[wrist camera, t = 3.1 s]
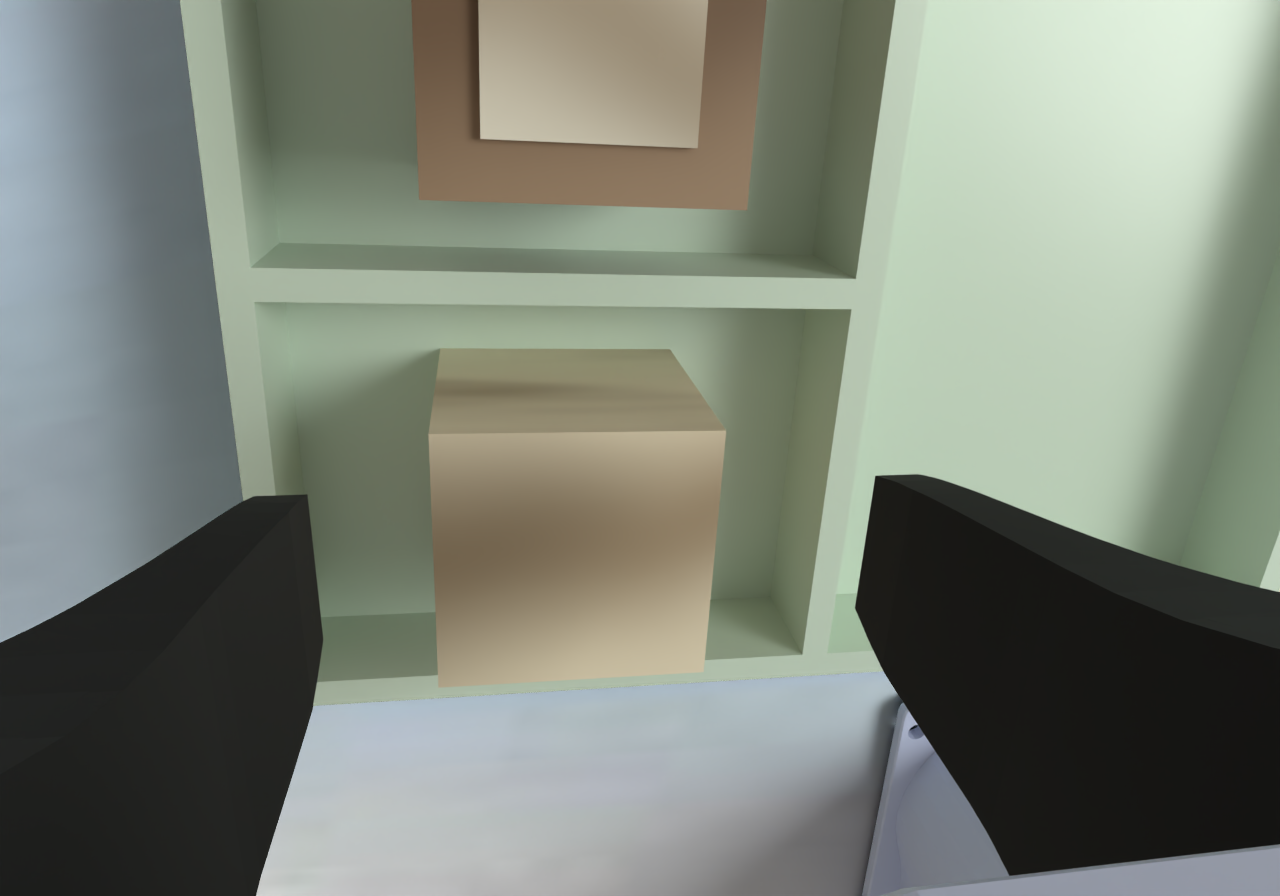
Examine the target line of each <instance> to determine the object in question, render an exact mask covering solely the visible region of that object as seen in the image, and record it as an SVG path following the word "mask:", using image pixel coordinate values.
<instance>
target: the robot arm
mask: <svg viewBox="0 0 1280 896" xmlns="http://www.w3.org/2000/svg"><path fill="white" fill-rule="evenodd" d="M855 610H856V612H857V614H858V617H859V619H860V621H861V624H862V626H863V628H864V631H865V633H866V636H867V638H868V640H869V642H870V645H871V647H872V649H873V651H874V653H875V655H876V657H877V659H878V661H879V663H880V666H881V668H882V669H883V671H884V673H885V674H886V676H887V678H888V679H889V681H890V682H891V684H892V686H893V687H894V689H895V690H896V692H897V693H898V695H899V697H900V698H901V700H902V701H903V703H902V704H901V705H900V707H899V710H898V714H897V719H896V724H895V729H894V734H893V739H892V744H891V749H890V755H889V760H888V765H887V770H886V775H885V780H884V785H883V790H882V795H881V801H880V806H879V811H878V816H877V821H876V826H875V831H874V836H873V841H872V847H871V852H870V857H869V862H868V867H867V872H866V877H865V882H864V887H863V893H862V896H1280V592H1277V591H1272V590H1268V589H1264V588H1260V587H1256V586H1252V585H1248V584H1244V583H1240V582H1236V581H1232V580H1229V579H1225V578H1221V577H1218V576H1214V575H1211V574H1207V573H1204V572H1200V571H1196V570H1193V569H1189V568H1186V567H1182V566H1178V565H1175V564H1172V563H1169V562H1166V561H1162V560H1159V559H1156V558H1153V557H1150V556H1147V555H1144V554H1141V553H1138V552H1135V551H1132V550H1129V549H1126V548H1124V547H1121V546H1118V545H1115V544H1112V543H1109V542H1106V541H1103V540H1101V539H1098V538H1095V537H1092V536H1090V535H1087V534H1084V533H1081V532H1079V531H1076V530H1073V529H1071V528H1068V527H1066V526H1063V525H1060V524H1058V523H1055V522H1053V521H1050V520H1047V519H1045V518H1042V517H1040V516H1037V515H1035V514H1032V513H1030V512H1027V511H1024V510H1022V509H1019V508H1017V507H1014V506H1012V505H1009V504H1007V503H1004V502H1002V501H999V500H996V499H994V498H991V497H989V496H986V495H984V494H981V493H978V492H976V491H973V490H970V489H968V488H965V487H962V486H959V485H956V484H953V483H950V482H947V481H944V480H941V479H937V478H934V477H929V476H925V475H920V474H909V475H879V476H875V481H874V488H873V494H872V501H871V507H870V514H869V520H868V526H867V533H866V539H865V546H864V552H863V559H862V565H861V571H860V578H859V584H858V591H857V597H856V604H855ZM322 646H323V631H322V622H321V613H320V604H319V595H318V586H317V577H316V568H315V558H314V549H313V540H312V531H311V522H310V513H309V504H308V495H307V494H305V495H275V496H253V497H251V498H249V499H247V500H245V501H243V502H241V503H239V504H238V505H236V506H234V507H233V508H231V509H229V510H228V511H226V512H225V513H223V514H222V515H220V516H218V517H217V518H215V519H214V520H212V521H211V522H209V523H208V524H206V525H205V526H203V527H202V528H200V529H199V530H197V531H196V532H194V533H193V534H191V535H190V536H188V537H187V538H185V539H184V540H182V541H180V542H179V543H177V544H176V545H174V546H173V547H171V548H170V549H168V550H167V551H165V552H164V553H162V554H161V555H159V556H157V557H156V558H154V559H153V560H151V561H150V562H148V563H147V564H145V565H143V566H142V567H140V568H138V569H136V570H135V571H133V572H131V573H130V574H128V575H126V576H125V577H123V578H121V579H119V580H118V581H116V582H114V583H113V584H111V585H109V586H108V587H106V588H104V589H102V590H101V591H99V592H97V593H96V594H94V595H92V596H91V597H89V598H87V599H85V600H84V601H82V602H80V603H79V604H77V605H75V606H73V607H71V608H70V609H68V610H66V611H64V612H62V613H60V614H58V615H56V616H54V617H53V618H51V619H49V620H47V621H45V622H43V623H41V624H39V625H37V626H35V627H33V628H31V629H29V630H27V631H25V632H22V633H20V634H18V635H16V636H14V637H12V638H10V639H8V640H5V641H3V642H1V643H0V896H256V893H257V889H258V885H259V881H260V878H261V874H262V871H263V868H264V864H265V861H266V858H267V855H268V852H269V848H270V845H271V842H272V839H273V836H274V832H275V829H276V826H277V823H278V820H279V817H280V813H281V810H282V807H283V804H284V801H285V797H286V794H287V791H288V788H289V785H290V781H291V778H292V775H293V772H294V769H295V766H296V762H297V759H298V756H299V752H300V749H301V746H302V743H303V739H304V736H305V733H306V730H307V726H308V723H309V719H310V716H311V713H312V709H313V703H314V697H315V691H316V685H317V679H318V673H319V666H320V659H321V653H322ZM914 725H918V726H917V727H916V728H914V729H912V730H910V728H912V727H913V726H914Z"/></svg>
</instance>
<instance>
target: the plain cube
mask: <svg viewBox="0 0 1280 896" xmlns="http://www.w3.org/2000/svg"><path fill="white" fill-rule="evenodd" d="M428 436H429V462H430V487H431V512H432V538H433V563H434V588H435V613H436V639H437V664H438V688H442V687H459V686H476V685H493V684H510V683H527V682H544V681H561V680H578V679H595V678H612V677H629V676H647V675H664V674H681V673H698V672H704V663H705V652H706V641H707V631H708V620H709V609H710V599H711V588H712V578H713V567H714V556H715V546H716V535H717V524H718V514H719V503H720V493H721V482H722V471H723V461H724V450H725V439H726V429H725V428H724V427H723V425H722V424H721V422H720V421H719V419H718V418H717V416H716V415H715V414H714V412H713V411H712V409H711V408H710V406H709V405H708V403H707V402H706V401H705V399H704V398H703V396H702V395H701V393H700V392H699V390H698V389H697V388H696V386H695V385H694V383H693V382H692V380H691V379H690V377H689V376H688V375H687V373H686V372H685V370H684V369H683V367H682V366H681V364H680V363H679V362H678V360H677V359H676V357H675V356H674V354H673V353H672V351H671V350H670V349H489V348H440V354H439V361H438V368H437V375H436V383H435V390H434V397H433V404H432V412H431V419H430V426H429V433H428Z"/></svg>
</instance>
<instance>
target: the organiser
mask: <svg viewBox="0 0 1280 896" xmlns="http://www.w3.org/2000/svg"><path fill="white" fill-rule="evenodd" d="M180 6H181V14H182V22H183V30H184V38H185V46H186V54H187V62H188V69H189V77H190V85H191V93H192V101H193V109H194V117H195V125H196V133H197V141H198V148H199V156H200V164H201V172H202V180H203V188H204V196H205V204H206V212H207V220H208V227H209V235H210V243H211V251H212V259H213V267H214V275H215V283H216V291H217V299H218V306H219V314H220V322H221V330H222V338H223V346H224V354H225V362H226V370H227V378H228V385H229V393H230V401H231V409H232V417H233V425H234V433H235V441H236V449H237V457H238V464H239V472H240V480H241V488H242V496H243V501H245V500H247V499H249V498H251V497H253V496H275V495H305V494H307V495H308V504H309V513H310V522H311V531H312V540H313V549H314V558H315V568H316V577H317V586H318V595H319V604H320V613H321V622H322V631H323V646H322V653H321V659H320V666H319V673H318V679H317V685H316V691H315V697H314V703H313V706H318V705H334V704H351V703H367V702H384V701H400V700H417V699H433V698H450V697H466V696H483V695H499V694H516V693H532V692H549V691H565V690H582V689H598V688H615V687H631V686H648V685H664V684H681V683H697V682H714V681H731V680H747V679H764V678H780V677H797V676H813V675H830V674H846V673H863V672H879V671H883V669H882V668H881V666H880V663H879V661H878V659H877V657H876V655H875V653H874V651H873V649H872V647H871V645H870V642H869V640H868V638H867V636H866V633H865V631H864V628H863V626H862V624H861V621H860V619H859V617H858V614H857V612H856V610H855V604H856V597H857V591H858V584H859V578H860V571H861V565H862V559H863V552H864V546H865V539H866V533H867V526H868V520H869V514H870V507H871V501H872V494H873V488H874V481H875V476H879V475H909V474H920V475H925V476H929V477H934V478H937V479H941V480H944V481H947V482H950V483H953V484H956V485H959V486H962V487H965V488H968V489H970V490H973V491H976V492H978V493H981V494H984V495H986V496H989V497H991V498H994V499H996V500H999V501H1002V502H1004V503H1007V504H1009V505H1012V506H1014V507H1017V508H1019V509H1022V510H1024V511H1027V512H1030V513H1032V514H1035V515H1037V516H1040V517H1042V518H1045V519H1047V520H1050V521H1053V522H1055V523H1058V524H1060V525H1063V526H1066V527H1068V528H1071V529H1073V530H1076V531H1079V532H1081V533H1084V534H1087V535H1090V536H1092V537H1095V538H1098V539H1101V540H1103V541H1106V542H1109V543H1112V544H1115V545H1118V546H1121V547H1124V548H1126V549H1129V550H1132V551H1135V552H1138V553H1141V554H1144V555H1147V556H1150V557H1153V558H1156V559H1159V560H1162V561H1166V562H1169V563H1172V564H1175V565H1178V566H1182V567H1186V568H1189V569H1193V570H1196V571H1200V572H1204V573H1207V574H1211V575H1214V576H1218V577H1221V578H1225V579H1229V580H1232V581H1236V582H1240V583H1244V584H1248V585H1252V586H1256V587H1260V588H1264V589H1268V590H1272V591H1277V592H1279V589H1280V0H767V4H766V14H765V25H764V36H763V46H762V57H761V67H760V78H759V89H758V99H757V110H756V121H755V131H754V142H753V152H752V163H751V174H750V184H749V195H748V206H747V210H719V209H687V208H656V207H624V206H592V205H561V204H529V203H497V202H466V201H434V200H419V184H418V159H417V133H416V108H415V83H414V58H413V32H412V7H411V0H180ZM440 348H489V349H670V350H671V351H672V353H673V354H674V356H675V357H676V359H677V360H678V362H679V363H680V364H681V366H682V367H683V369H684V370H685V372H686V373H687V375H688V376H689V377H690V379H691V380H692V382H693V383H694V385H695V386H696V388H697V389H698V390H699V392H700V393H701V395H702V396H703V398H704V399H705V401H706V402H707V403H708V405H709V406H710V408H711V409H712V411H713V412H714V414H715V415H716V416H717V418H718V419H719V421H720V422H721V424H722V425H723V427H724V428H725V429H726V439H725V450H724V461H723V471H722V482H721V493H720V503H719V514H718V524H717V535H716V546H715V556H714V567H713V578H712V588H711V599H710V609H709V620H708V631H707V641H706V652H705V663H704V672H698V673H681V674H664V675H647V676H629V677H612V678H595V679H578V680H561V681H544V682H527V683H510V684H493V685H476V686H459V687H442V688H438V664H437V639H436V613H435V588H434V563H433V538H432V512H431V487H430V462H429V436H428V433H429V426H430V419H431V412H432V404H433V397H434V390H435V383H436V375H437V368H438V361H439V354H440Z"/></svg>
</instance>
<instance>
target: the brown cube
mask: <svg viewBox="0 0 1280 896" xmlns="http://www.w3.org/2000/svg"><path fill="white" fill-rule="evenodd" d="M766 4H767V0H411V7H412V32H413V58H414V83H415V108H416V133H417V159H418V184H419V200H434V201H466V202H497V203H529V204H561V205H592V206H624V207H656V208H687V209H719V210H747V206H748V195H749V184H750V174H751V163H752V152H753V142H754V131H755V121H756V110H757V99H758V89H759V78H760V67H761V57H762V46H763V36H764V25H765V14H766Z"/></svg>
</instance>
